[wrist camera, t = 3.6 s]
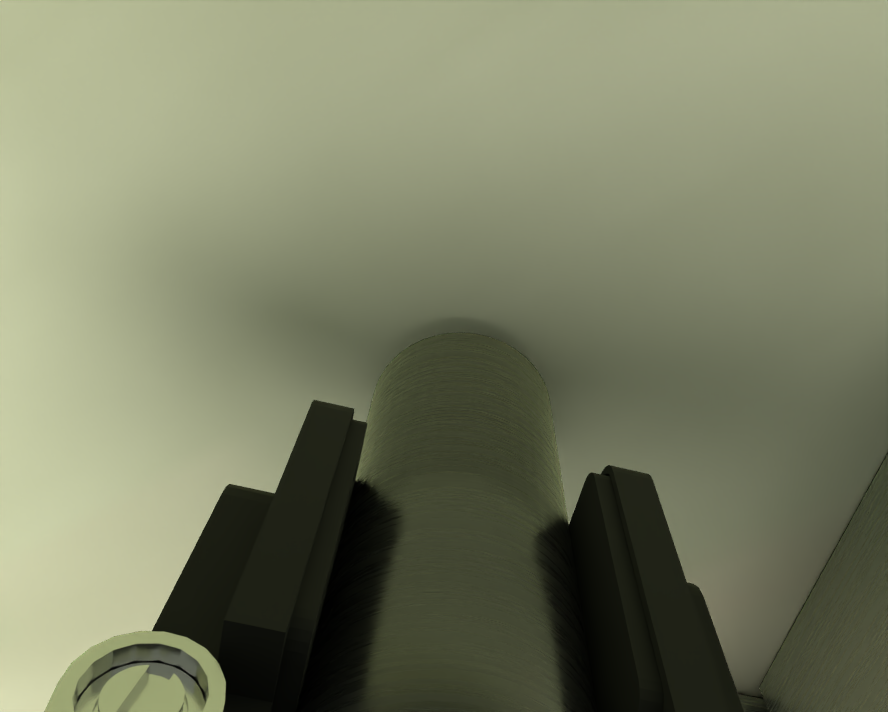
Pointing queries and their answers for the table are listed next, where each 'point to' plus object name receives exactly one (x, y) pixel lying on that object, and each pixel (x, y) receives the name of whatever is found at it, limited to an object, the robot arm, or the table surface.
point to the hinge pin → (454, 548)
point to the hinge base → (840, 626)
